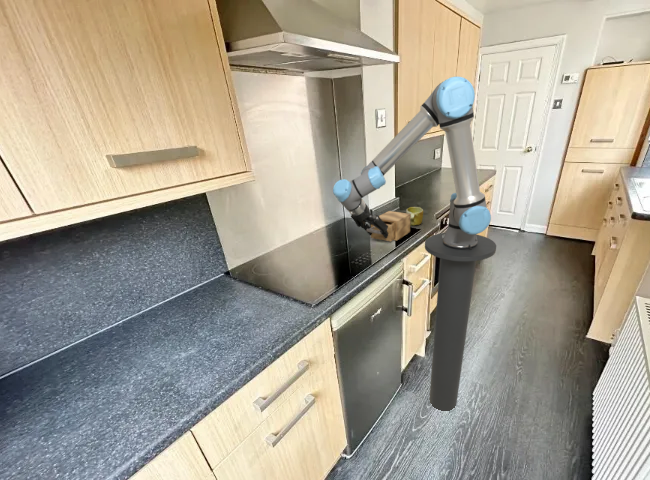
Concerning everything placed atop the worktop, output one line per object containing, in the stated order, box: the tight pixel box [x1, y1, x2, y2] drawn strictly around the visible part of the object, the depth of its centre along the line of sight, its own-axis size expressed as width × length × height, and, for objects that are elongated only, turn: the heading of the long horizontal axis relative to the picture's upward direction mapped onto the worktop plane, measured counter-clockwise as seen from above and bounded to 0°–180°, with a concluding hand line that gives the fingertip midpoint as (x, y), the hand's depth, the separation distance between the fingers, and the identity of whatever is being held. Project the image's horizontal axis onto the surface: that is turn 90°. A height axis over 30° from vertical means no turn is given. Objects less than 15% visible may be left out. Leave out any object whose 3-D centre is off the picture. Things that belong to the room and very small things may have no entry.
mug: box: [405, 206, 424, 227], centre depth 174 cm, size 12×10×10 cm
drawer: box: [366, 221, 395, 242], centre depth 154 cm, size 20×11×8 cm, turn 147°
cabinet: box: [378, 210, 411, 242], centre depth 160 cm, size 15×13×10 cm
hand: (379, 234), depth 151 cm, fingers closed on drawer, 8 cm apart
